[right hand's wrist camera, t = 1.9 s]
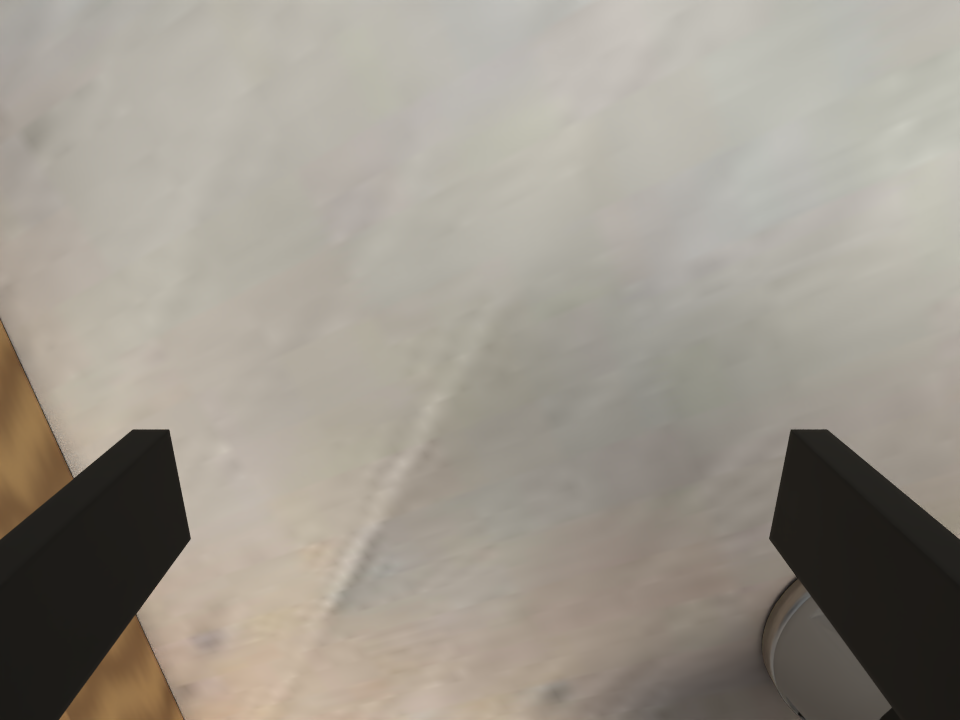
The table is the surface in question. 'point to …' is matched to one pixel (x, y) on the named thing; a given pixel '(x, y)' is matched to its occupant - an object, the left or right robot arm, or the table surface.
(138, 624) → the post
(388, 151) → the table surface
